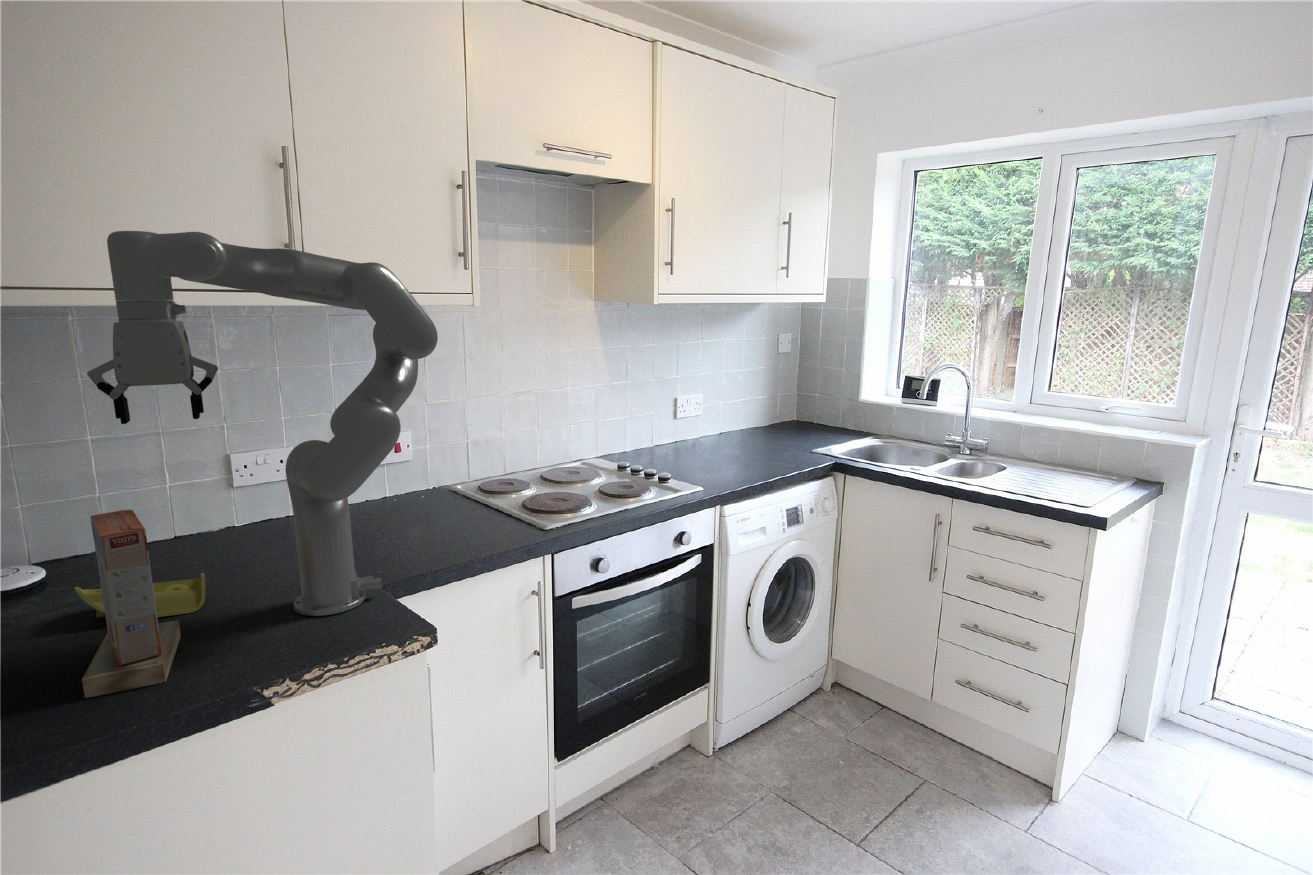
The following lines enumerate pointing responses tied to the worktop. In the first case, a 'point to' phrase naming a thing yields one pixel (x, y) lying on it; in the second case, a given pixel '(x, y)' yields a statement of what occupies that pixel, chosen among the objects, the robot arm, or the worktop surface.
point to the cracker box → (126, 586)
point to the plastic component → (160, 597)
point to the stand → (131, 666)
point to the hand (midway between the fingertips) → (161, 420)
